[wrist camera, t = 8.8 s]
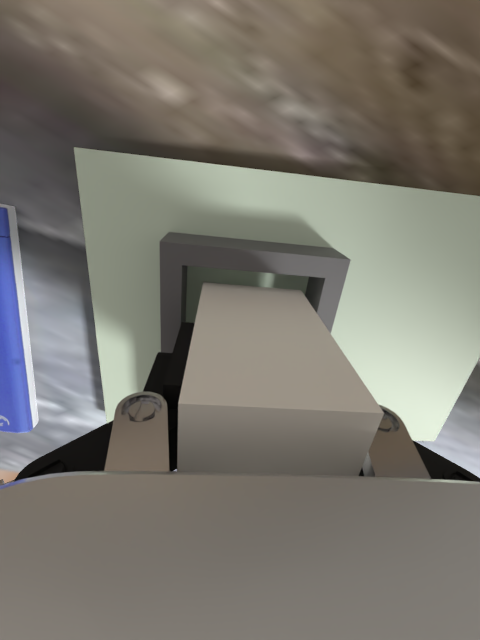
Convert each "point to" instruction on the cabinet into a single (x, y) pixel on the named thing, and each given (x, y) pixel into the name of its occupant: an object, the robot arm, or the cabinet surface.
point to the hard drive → (14, 334)
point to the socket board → (285, 269)
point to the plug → (270, 389)
